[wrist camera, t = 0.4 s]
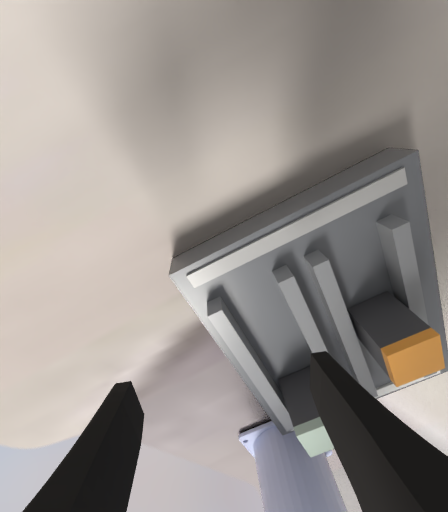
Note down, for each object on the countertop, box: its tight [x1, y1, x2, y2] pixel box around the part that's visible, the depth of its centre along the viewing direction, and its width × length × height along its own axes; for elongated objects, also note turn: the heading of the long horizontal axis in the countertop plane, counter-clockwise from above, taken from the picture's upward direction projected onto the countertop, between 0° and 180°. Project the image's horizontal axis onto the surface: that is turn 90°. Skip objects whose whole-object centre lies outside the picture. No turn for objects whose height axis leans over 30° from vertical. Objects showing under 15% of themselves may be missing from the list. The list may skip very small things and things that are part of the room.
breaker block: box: [169, 148, 448, 458], centre depth 19 cm, size 20×16×7 cm
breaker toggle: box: [347, 291, 445, 387], centre depth 17 cm, size 3×3×4 cm
